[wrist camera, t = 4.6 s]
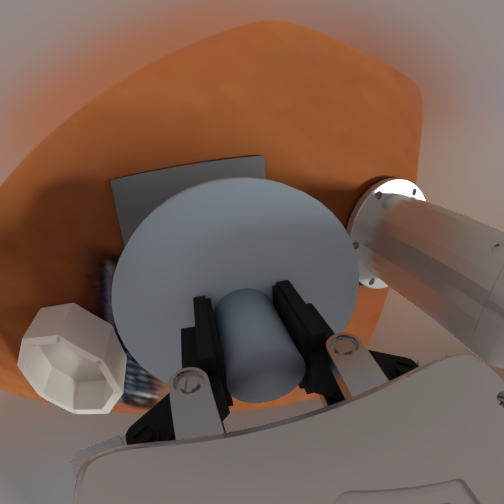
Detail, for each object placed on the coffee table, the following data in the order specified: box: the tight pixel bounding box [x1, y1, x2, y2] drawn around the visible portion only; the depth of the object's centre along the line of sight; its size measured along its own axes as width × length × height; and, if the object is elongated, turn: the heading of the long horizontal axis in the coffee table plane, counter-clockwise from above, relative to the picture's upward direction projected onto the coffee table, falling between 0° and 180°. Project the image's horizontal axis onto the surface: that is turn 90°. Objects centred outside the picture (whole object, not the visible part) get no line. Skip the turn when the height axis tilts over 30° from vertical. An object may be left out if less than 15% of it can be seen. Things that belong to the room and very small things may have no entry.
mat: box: [111, 155, 266, 246], centre depth 22 cm, size 12×12×1 cm
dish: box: [17, 303, 127, 414], centre depth 20 cm, size 10×10×5 cm
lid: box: [112, 177, 359, 403], centre depth 11 cm, size 12×12×5 cm
